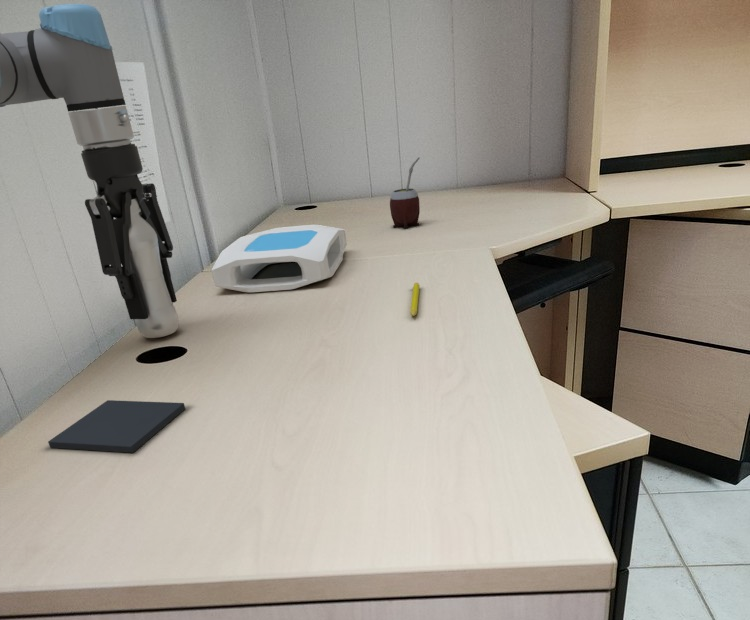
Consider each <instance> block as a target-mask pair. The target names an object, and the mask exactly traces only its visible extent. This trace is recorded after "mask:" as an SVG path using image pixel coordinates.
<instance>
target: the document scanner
mask: <svg viewBox="0 0 750 620" xmlns="http://www.w3.org/2000/svg"><path fill="white" fill-rule="evenodd" d="M346 235H347V234H346V230H345V229H344V228H340V227H333V226H328V225H321V224H304V225H294V226H293V225H291V226H281V227H274V228H270V229H266V230H262V231H258V232H254V233H249V234H246V235H243V236H240V237H238V238H237V239H235V240H234V241H233V242H231V244H229V245H228V246H226V247H225V248H224V249H223V250H222V251H220V254H219V255H218V257H217V259H216V261H215V262H214V264H213V267H212V268H211V269H210V271H211V275H212V280H213V283H214V286H215V287H216V288H220V289H225V290H233V291H237V292H243V293H260V292H275V291H289V290H295V289H299V288H301V287H305V286H307V285H310V284H314V283H318V282H321V281H324V280H327V279H331V278H332V277H333V276H334V274H335V273H336V271H337V270H338V268H339V267H340V265H341V264H342V262H343V260H344V253H345V250H346V247H347V236H346ZM291 262H293V263H294V262H295V263H297V265H299V268H300V269H301V274H300V275H295V276H282V277H270V278H257V279H256V278H254V277H255V275H257V274H258V273H259V272H260V271H261V270H262V269H265V268H266V266H269V265H273V264H282V263H291Z"/></svg>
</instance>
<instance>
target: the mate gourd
mask: <svg viewBox="0 0 750 620" xmlns="http://www.w3.org/2000/svg"><path fill="white" fill-rule="evenodd" d="M420 158H421V157H417V158H416V159H415V160H414V162H412V164H411V166H410V167H409V169H408V178H407V183H406V187H405V188H400V189H396V190H393V191H392V193H391V195H390V197H389V209H390V217H391V219H392V222H393V225H392V227H393V229H395V228H403V230H406V229H407V230H408V227H418V226H420V222H419V219H420V213H421V212H420V196H419V193H418V192H417V191H416V189H415V188H410V183H411V178H412V174H413V171H414V167H415V165H416V164H417V162H418V161H419V160H420Z"/></svg>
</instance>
